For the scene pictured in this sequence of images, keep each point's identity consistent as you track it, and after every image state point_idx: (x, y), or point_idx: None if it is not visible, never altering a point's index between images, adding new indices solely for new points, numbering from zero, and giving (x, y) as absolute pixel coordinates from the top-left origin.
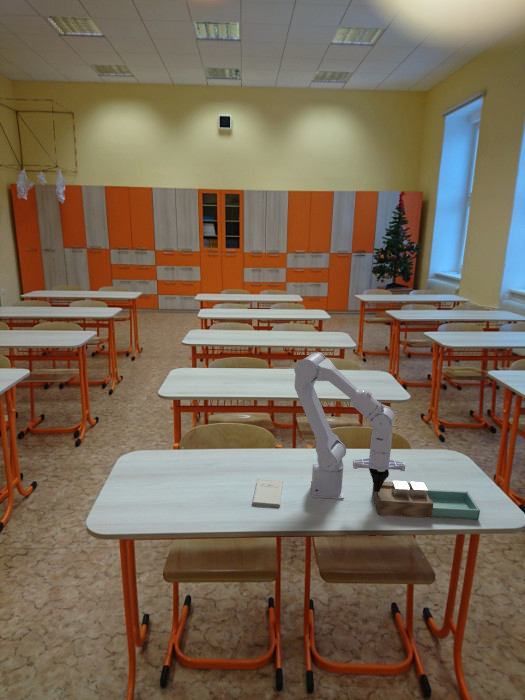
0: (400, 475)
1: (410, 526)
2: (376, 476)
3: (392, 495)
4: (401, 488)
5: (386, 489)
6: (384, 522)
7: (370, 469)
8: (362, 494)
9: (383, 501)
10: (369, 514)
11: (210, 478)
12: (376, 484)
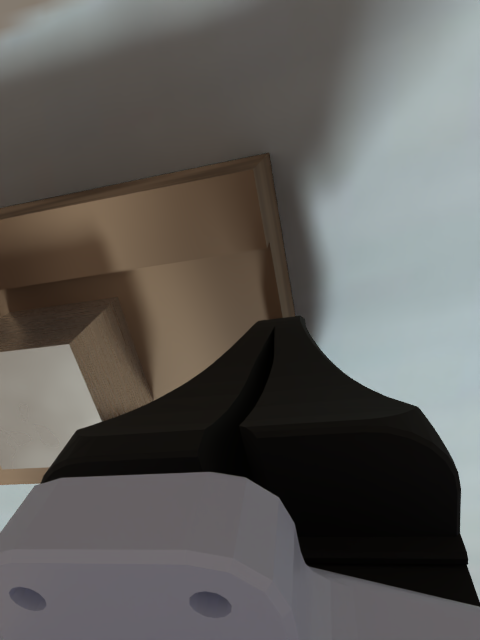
0: None
1: (16, 68)
2: (301, 408)
3: (140, 322)
4: (15, 355)
5: None
6: (215, 54)
7: (450, 579)
8: (377, 382)
9: (210, 177)
10: (341, 138)
11: None
12: (289, 350)
